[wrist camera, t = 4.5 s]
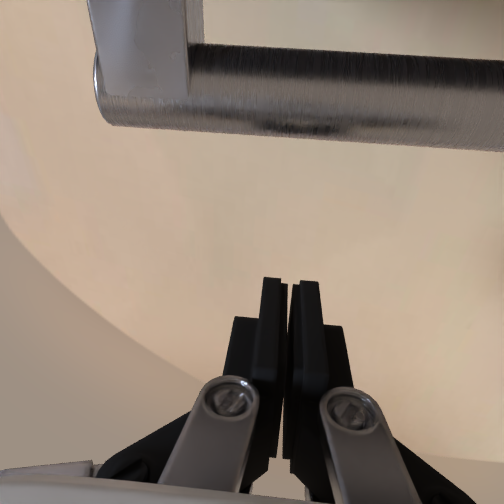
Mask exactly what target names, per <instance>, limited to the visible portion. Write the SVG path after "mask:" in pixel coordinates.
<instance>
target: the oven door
mask: <svg viewBox="0 0 504 504" xmlns="http://www.w3.org/2000/svg"><path fill="white" fill-rule="evenodd" d="M87 5H88V10H89V15H90V20H91V25H92V30H93V35H94V40H95V45H96V54H95V58H94V67H93V80H94V90H95V96H96V100H97V104H98V107H99V110H100V112H101V114H102V116H103V118H104V119H105V120H106V122H108V123H109V124H111V125H113V126H123V127H138V128H152V129H167V130H182V131H197V132H212V133H227V134H242V135H257V136H272V137H286V138H301V139H316V140H331V141H346V142H361V143H376V144H391V145H405V146H420V147H435V148H450V149H465V150H480V151H495V152H504V61H502V60H485V59H467V58H450V57H432V56H415V55H397V54H380V53H363V52H345V51H328V50H310V49H293V48H275V47H258V46H240V45H223V44H206V43H204V20H203V0H87Z"/></svg>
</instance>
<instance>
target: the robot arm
mask: <svg viewBox="0 0 504 504" xmlns="http://www.w3.org/2000/svg"><path fill="white" fill-rule="evenodd" d="M287 298H288V284H285V283H281V278H270V277H264V279H263V287H262V296H261V304H260V313H259V318H249V317H238V316H235V318H234V322H233V327H232V332H231V337H230V341H229V346H228V351H227V356H226V361H225V365H224V370H223V375H222V376H219V377H217V378H214V379H212V380H210V381H209V382H208V383H206V384H205V385H204V387H203V388H202V389H201V391H200V393H199V395H198V397H197V399H196V402H195V404H194V406H193V408H192V410H191V411H190V412H188V413H186V414H184V415H182V416H181V417H179V418H177V419H176V420H174V421H172V422H170V423H169V424H167V425H165V426H163V427H162V428H160V429H158V430H157V431H155V432H153V433H151V434H150V435H148V436H146V437H145V438H143V439H141V440H139V441H138V442H136V443H134V444H132V445H130V446H129V447H127V448H125V449H123V450H122V451H120V452H118V453H116V454H115V455H114V456H112V457H111V458H110V459H108V460H107V461H106V462H105V463H104V464H98V465H93V462H92V460H88V461H80V462H69V463H60V464H50V465H41V466H32V467H22V468H13V469H5V470H1V471H0V504H476V503H475V502H474V501H473V500H472V499H471V498H470V497H469V496H468V495H467V494H466V493H464V492H463V491H462V490H461V489H459V488H458V487H457V486H455V485H454V484H453V483H452V482H450V481H449V480H448V479H446V478H445V477H444V476H443V475H441V474H440V473H439V472H437V471H436V470H435V469H433V468H432V467H431V466H430V465H428V464H427V463H426V462H424V461H423V460H422V459H421V458H420V457H418V456H417V455H416V454H414V453H413V452H412V451H411V450H409V449H408V448H407V447H405V446H404V445H403V444H402V443H400V442H399V441H398V440H396V439H395V438H394V437H393V436H392V433H391V431H390V429H389V426H388V424H387V422H386V419H385V417H384V415H383V412H382V410H381V408H380V407H379V405H378V404H377V402H376V401H375V400H374V399H373V398H372V397H371V396H369V395H368V394H366V393H364V392H363V391H361V390H358V389H355V388H354V386H353V381H352V376H351V370H350V365H349V359H348V354H347V348H346V343H345V337H344V332H343V328H342V326H334V325H324V324H323V317H322V308H321V300H320V291H319V283H318V282H315V281H304V280H300V284H299V285H297V284H293V288H292V297H291V305H290V314H289V323H288V332H287ZM283 397H284V405H283ZM282 405H283V455H282V456H283V459H290V473H293V474H295V475H296V477H297V478H298V479H299V480H300V481H301V482H302V483H303V484H304V485H305V500H306V501H303V500H294V499H286V498H277V497H269V496H260V495H251V493H252V485H253V482H254V481H255V480H256V479H258V478H259V477H260V476H261V475H263V474H264V473H265V472H267V471H268V464H269V457H272V458H276V455H277V447H278V439H279V430H280V422H281V414H282Z"/></svg>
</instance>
